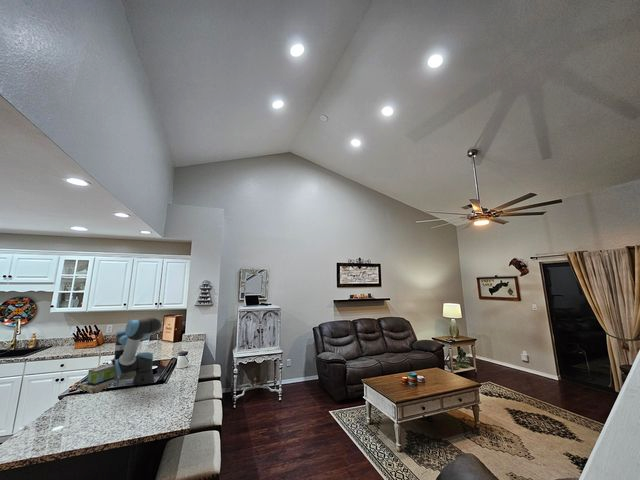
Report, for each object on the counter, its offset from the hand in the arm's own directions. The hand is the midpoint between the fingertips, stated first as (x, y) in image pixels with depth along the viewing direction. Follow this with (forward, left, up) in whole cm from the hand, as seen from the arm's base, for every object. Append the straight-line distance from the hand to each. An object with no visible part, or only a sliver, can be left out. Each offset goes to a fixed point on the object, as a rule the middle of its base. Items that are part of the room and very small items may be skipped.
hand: (118, 377), depth 236 cm
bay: (-1, +19, -2) cm, 19 cm away
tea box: (+1, +13, -2) cm, 13 cm away
